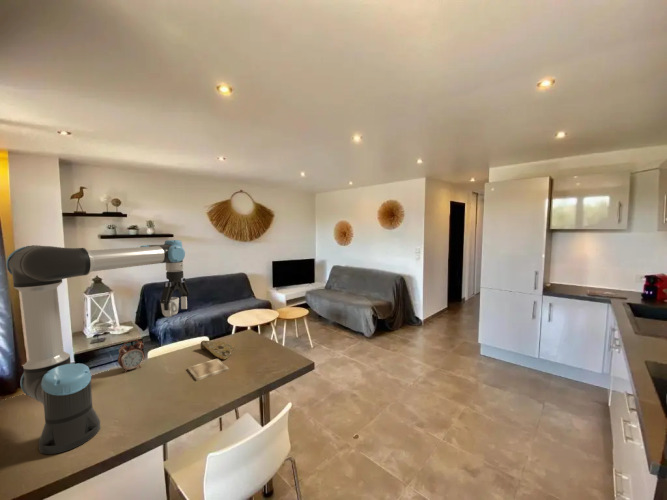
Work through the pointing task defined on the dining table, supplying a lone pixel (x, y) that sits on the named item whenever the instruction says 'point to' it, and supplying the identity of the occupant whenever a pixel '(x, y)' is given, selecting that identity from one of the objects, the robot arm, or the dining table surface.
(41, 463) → the dining table surface
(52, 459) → the dining table surface
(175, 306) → the cup
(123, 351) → the alarm clock
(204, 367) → the board
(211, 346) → the decorative stone
